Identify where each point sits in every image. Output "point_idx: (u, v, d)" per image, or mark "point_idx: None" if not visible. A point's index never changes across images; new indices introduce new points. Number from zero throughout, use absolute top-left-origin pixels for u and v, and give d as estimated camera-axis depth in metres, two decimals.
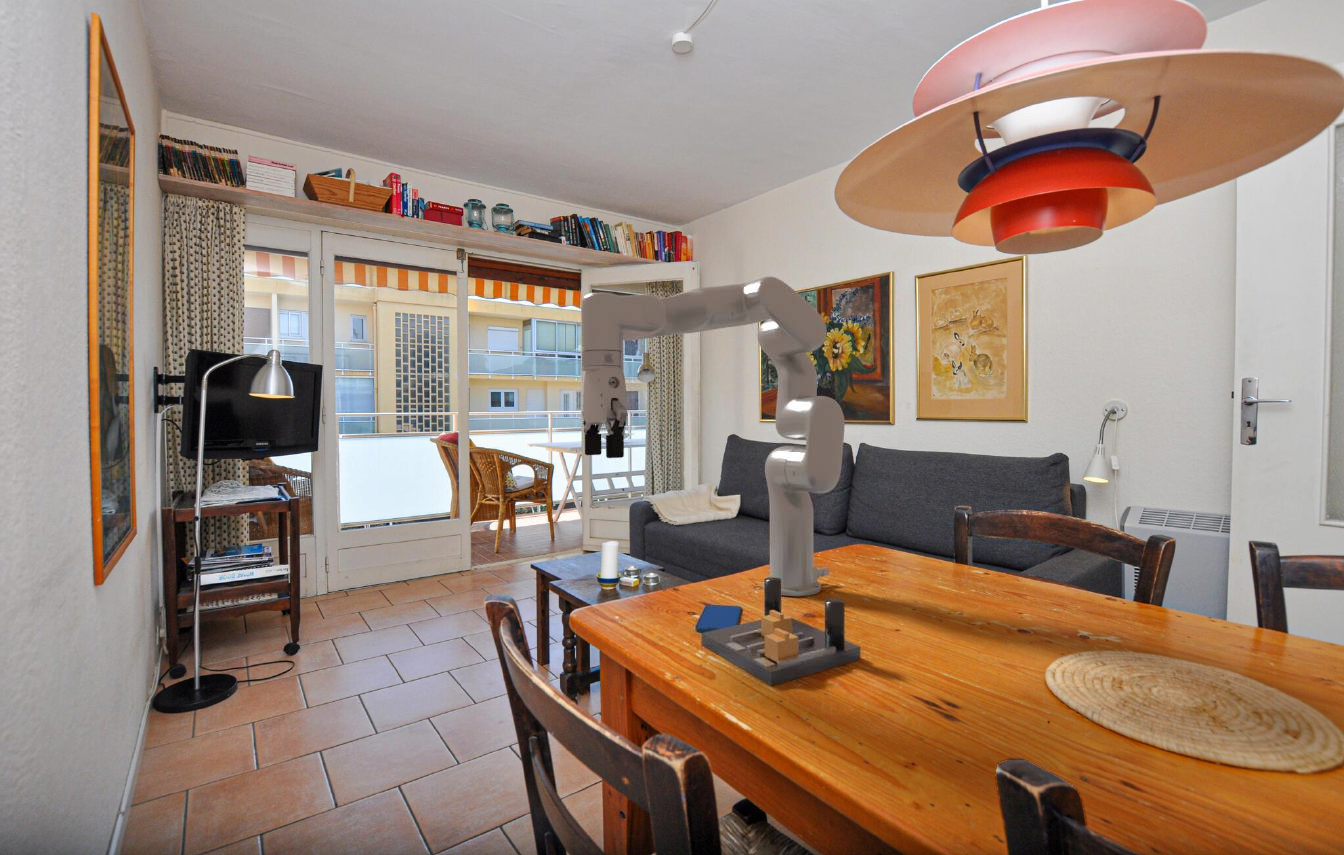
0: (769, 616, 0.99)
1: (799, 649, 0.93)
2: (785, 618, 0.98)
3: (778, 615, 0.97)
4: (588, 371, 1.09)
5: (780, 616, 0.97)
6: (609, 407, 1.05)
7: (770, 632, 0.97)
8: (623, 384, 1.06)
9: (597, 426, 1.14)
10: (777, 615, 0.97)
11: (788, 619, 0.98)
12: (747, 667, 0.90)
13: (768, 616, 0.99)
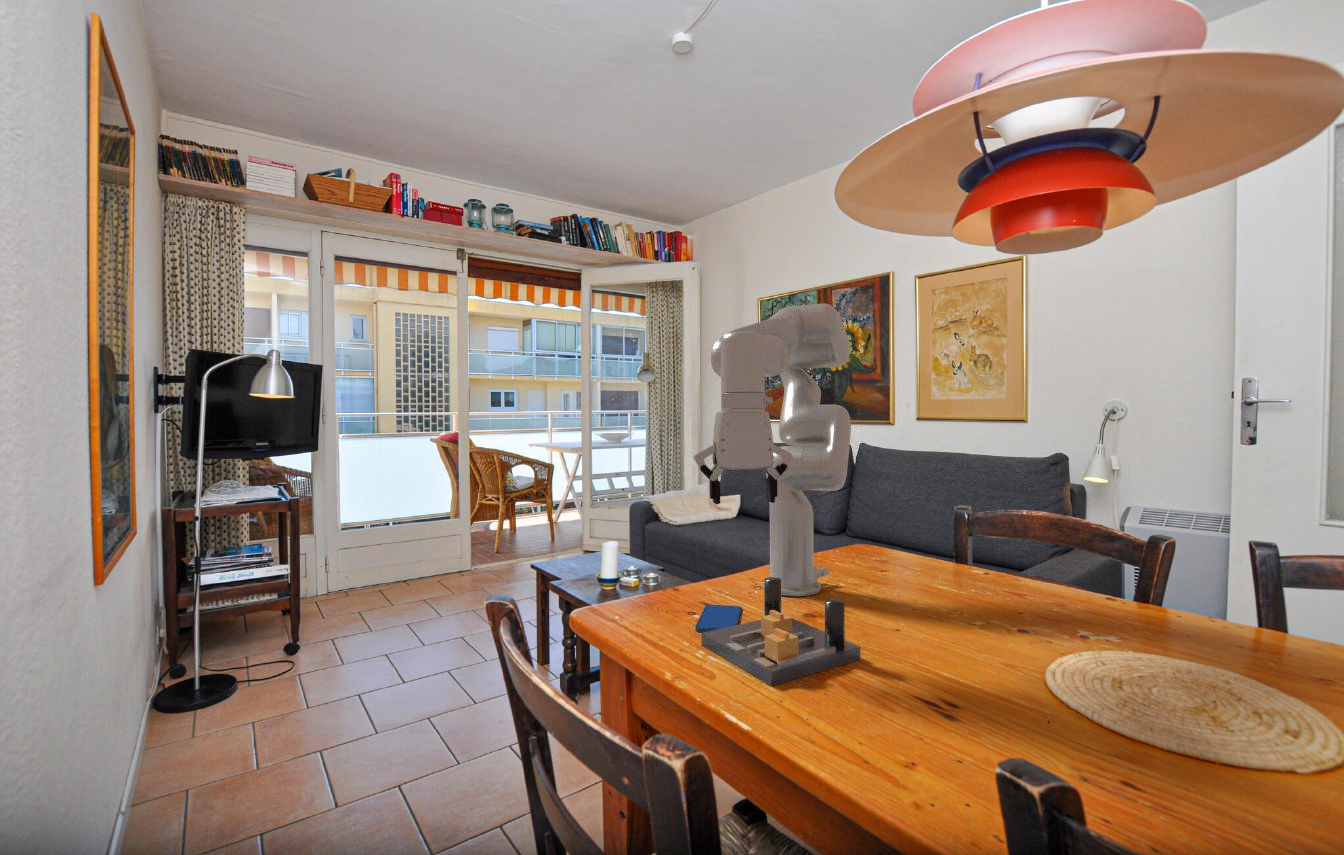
0: (769, 616, 0.99)
1: (799, 649, 0.93)
2: (785, 618, 0.98)
3: (778, 615, 0.97)
4: (742, 413, 1.01)
5: (780, 616, 0.97)
6: None
7: (770, 632, 0.97)
8: None
9: None
10: (777, 615, 0.97)
11: (788, 619, 0.98)
12: (747, 667, 0.90)
13: (768, 616, 0.99)
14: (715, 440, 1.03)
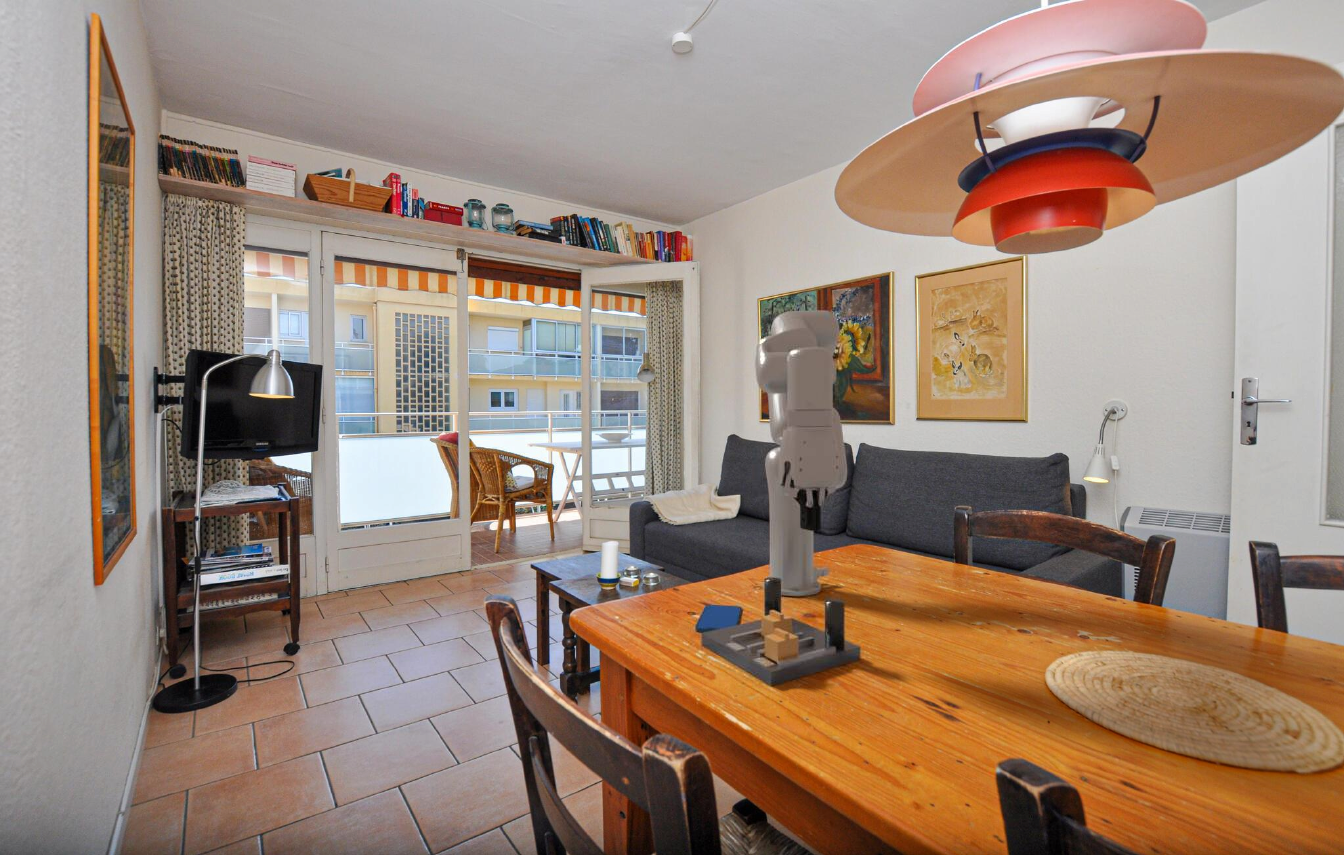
0: (769, 616, 0.99)
1: (799, 649, 0.93)
2: (785, 618, 0.98)
3: (778, 615, 0.97)
4: (817, 431, 0.99)
5: (780, 616, 0.97)
6: None
7: (770, 632, 0.97)
8: None
9: None
10: (777, 615, 0.97)
11: (788, 619, 0.98)
12: (747, 667, 0.90)
13: (768, 616, 0.99)
14: (789, 459, 0.99)
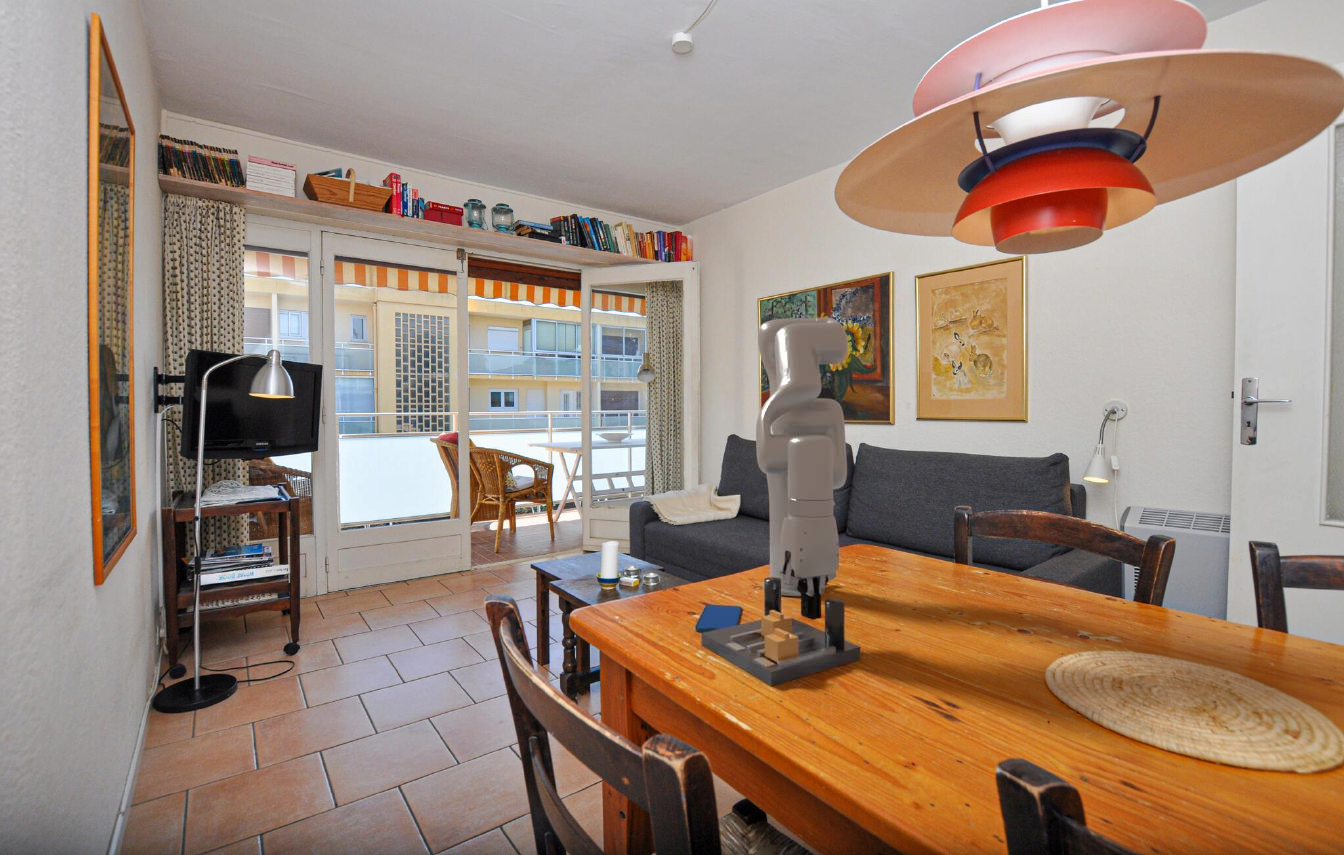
0: (769, 616, 0.99)
1: (799, 649, 0.93)
2: (785, 618, 0.98)
3: (778, 615, 0.97)
4: (817, 520, 0.99)
5: (780, 616, 0.97)
6: None
7: (770, 632, 0.97)
8: None
9: None
10: (777, 615, 0.97)
11: (788, 619, 0.98)
12: (747, 667, 0.90)
13: (768, 616, 0.99)
14: (789, 549, 0.99)
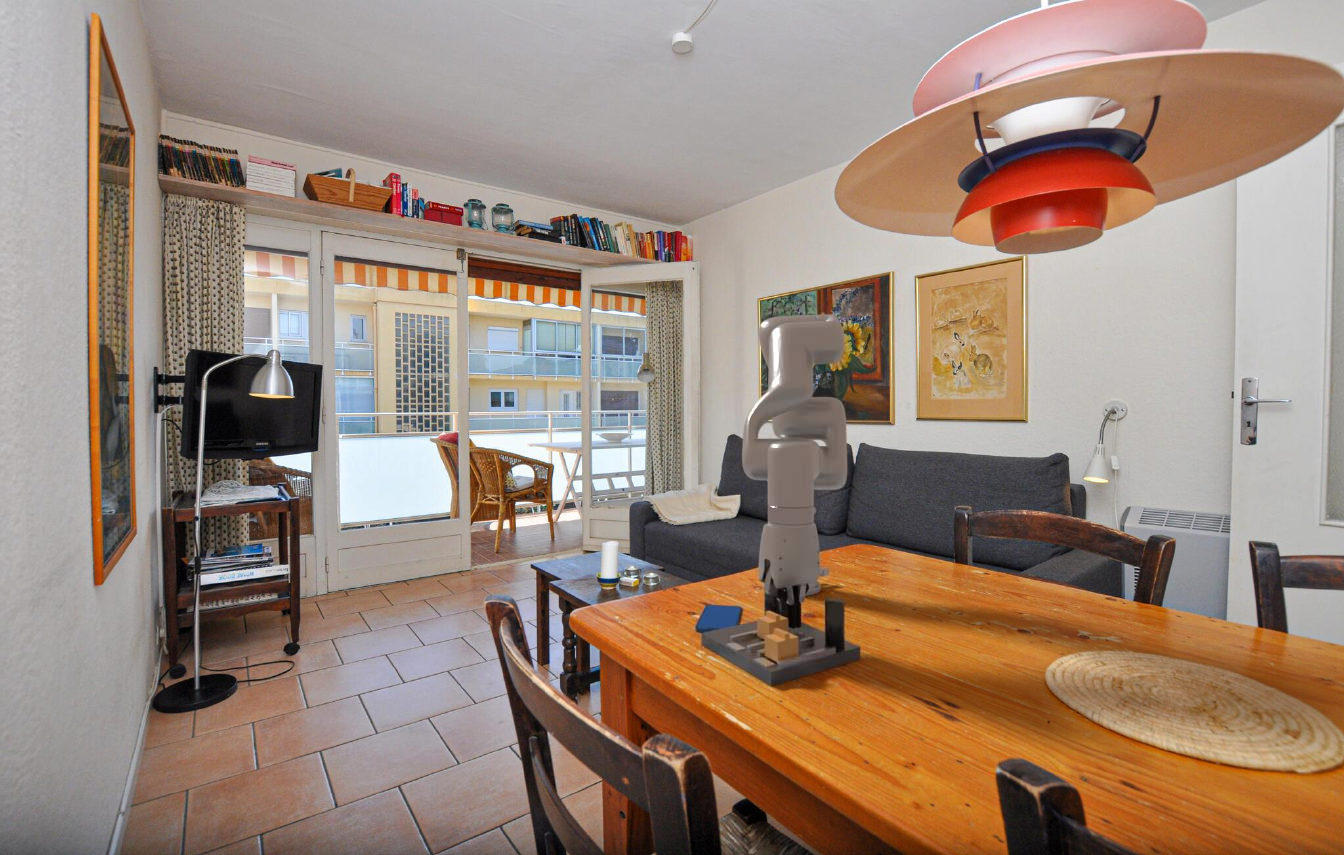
0: (765, 617, 0.98)
1: (799, 649, 0.93)
2: (781, 619, 0.97)
3: (774, 616, 0.97)
4: (797, 528, 0.97)
5: (776, 617, 0.97)
6: None
7: (766, 633, 0.96)
8: None
9: None
10: (773, 616, 0.97)
11: (784, 620, 0.97)
12: (747, 667, 0.90)
13: (765, 617, 0.98)
14: (769, 557, 0.97)
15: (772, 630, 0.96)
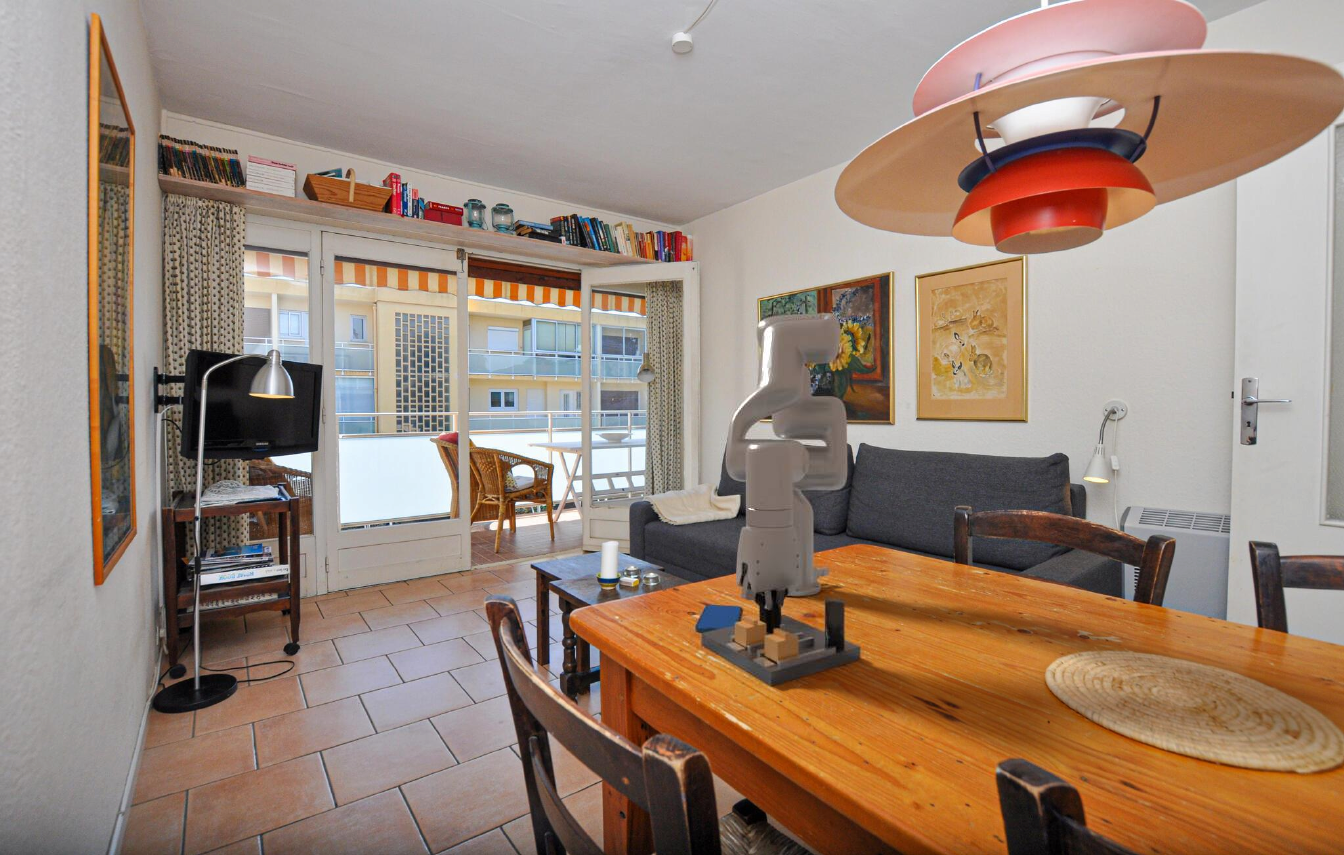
0: (743, 622, 0.96)
1: (799, 649, 0.93)
2: (759, 624, 0.95)
3: (752, 621, 0.95)
4: (775, 531, 0.95)
5: (754, 622, 0.94)
6: None
7: (743, 638, 0.94)
8: None
9: None
10: (751, 621, 0.95)
11: (762, 625, 0.95)
12: (747, 667, 0.90)
13: (742, 622, 0.96)
14: (746, 561, 0.94)
15: (749, 635, 0.94)
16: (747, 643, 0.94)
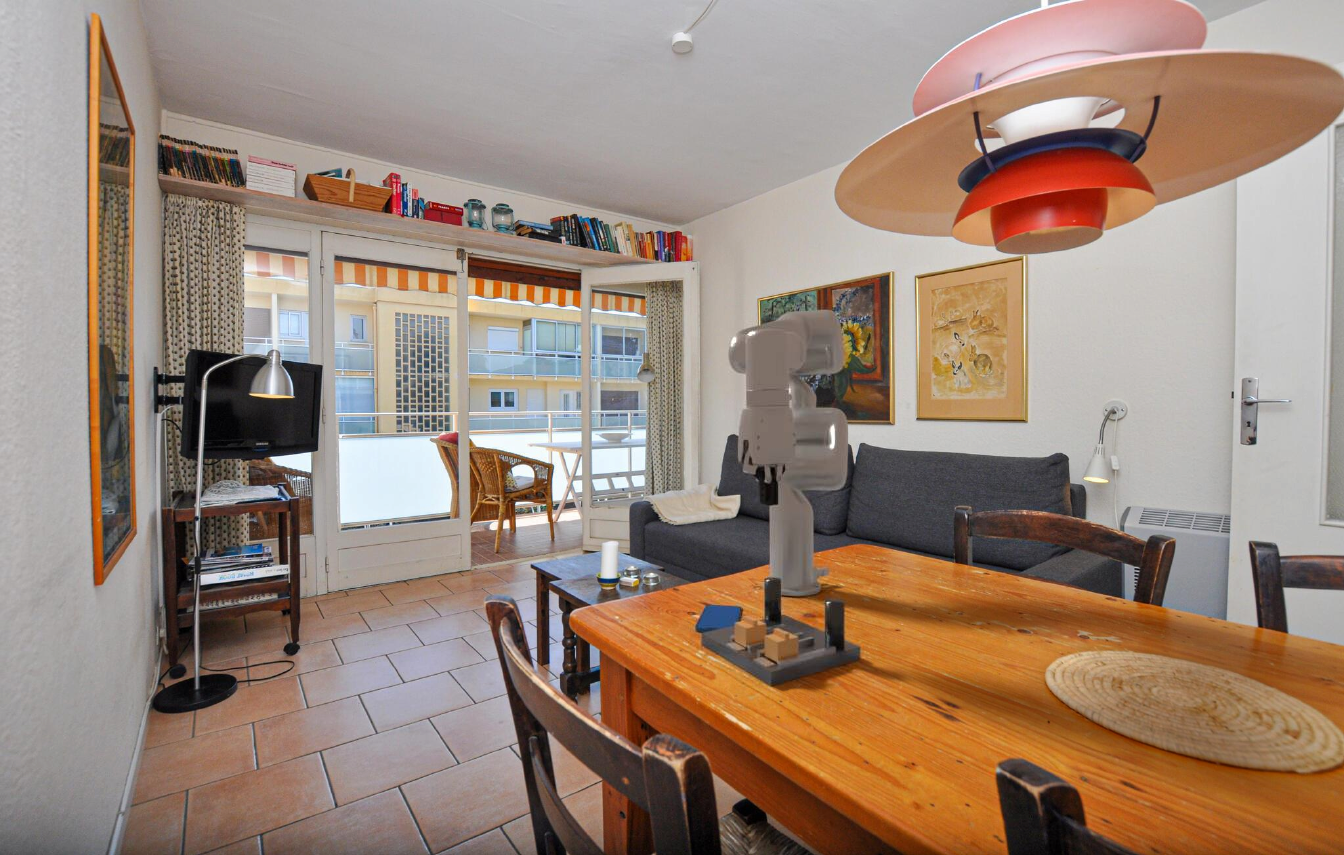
0: (743, 622, 0.96)
1: (799, 649, 0.93)
2: (759, 624, 0.95)
3: (752, 621, 0.95)
4: (774, 410, 1.03)
5: (754, 622, 0.94)
6: None
7: (743, 639, 0.94)
8: None
9: None
10: (751, 621, 0.95)
11: (762, 625, 0.95)
12: (747, 667, 0.90)
13: (742, 622, 0.96)
14: (747, 437, 1.02)
15: (749, 635, 0.94)
16: (747, 643, 0.93)
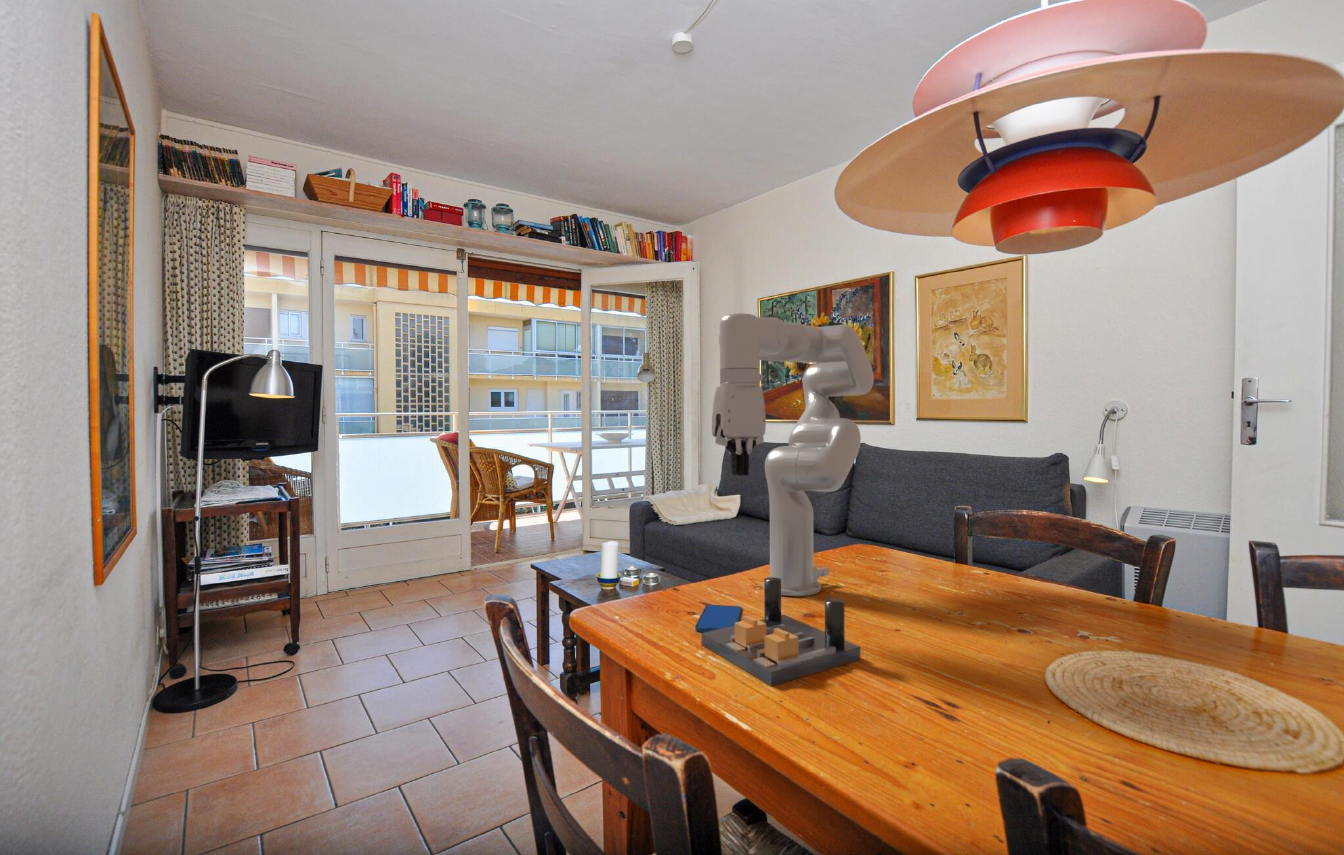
0: (743, 622, 0.96)
1: (799, 649, 0.93)
2: (759, 624, 0.95)
3: (752, 621, 0.95)
4: (744, 387, 1.13)
5: (754, 622, 0.94)
6: None
7: (743, 639, 0.94)
8: None
9: None
10: (751, 621, 0.95)
11: (762, 625, 0.95)
12: (747, 667, 0.90)
13: (742, 622, 0.96)
14: (719, 412, 1.12)
15: (749, 635, 0.94)
16: (747, 643, 0.93)
